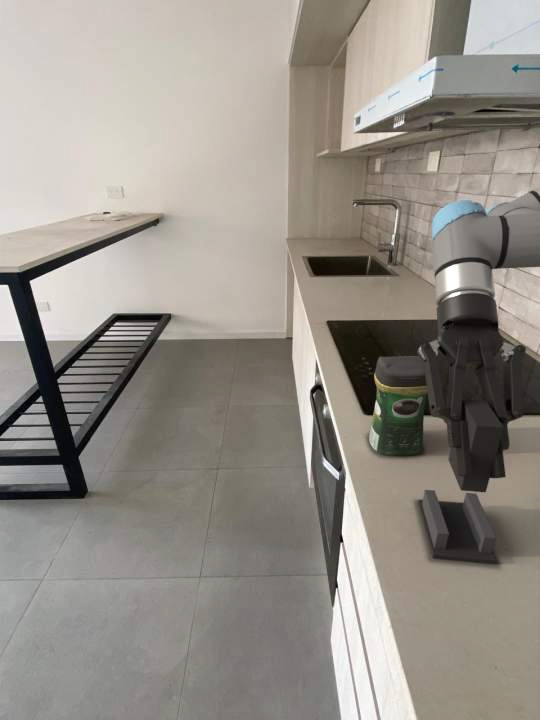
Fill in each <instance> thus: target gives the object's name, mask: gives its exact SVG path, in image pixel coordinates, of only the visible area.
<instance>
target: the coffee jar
mask: <svg viewBox="0 0 540 720" xmlns="http://www.w3.org/2000/svg"><path fill="white" fill-rule="evenodd" d="M373 374H374V376H373V378H374V383H375V386H376V397H375V403H374V410H373V414H372V418H371V423H370V426H369V427H370V428H369V435H368V440H369V444H370V446H371V447H372V449H373V450H374V451H375V453H377V454H379V455H381V456H386V457H408V456H415V455H418V454H419V453H421V451H422V450H423V446H424V422H425V421H424V419H425V418H424V417H425V404H426V399H427V396H428V392H427V385H426V378H425V371H424V365H423V363H422V361H421V359H420V357H419V355H407V356H406V355H404V356H378V358H377V361H376V366H375V371H374V373H373Z"/></svg>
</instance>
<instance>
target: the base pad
mask: <svg viewBox="0 0 540 720" xmlns="http://www.w3.org/2000/svg"><path fill="white" fill-rule="evenodd" d="M423 491H424V492H423V496H422V499H418V501H417V505H418V509H419V512H420V516H421V520H422V524H423V528H424V531H425V536H426V540H427V543H428V547H429V550H430V555H431V558H432V559H435V560H443V561H445V560H446V561H454V562H455V561H456V562H463V563H464V562H465V563H475V564H484V565H485V564H486V565H496V563H497V559H496V556H495V553H494V552H493V549H494V546H495V543H496V541H497V536H496V534H495V532H494V530H493V528H492V526H491V523H490V521H489V518H488V517H487V515H486V512H485V510H484V507H483V505H482V503H481V501H480V499H479V496H478V494H477V493H476V492H472V493H471V492H466V493H465V494H464V499H463V502H455V501H442V500H439V499H438V497H437V493H436V490H433V489H424V490H423Z"/></svg>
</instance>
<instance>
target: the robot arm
mask: <svg viewBox="0 0 540 720" xmlns="http://www.w3.org/2000/svg"><path fill="white" fill-rule="evenodd" d="M485 209H486V208H485V207H484V205H482V203H480V202H477V201H475V202H474V201H472V200H470V199H463V200H457V201H454V202H451V203H449V204H447V205H445V206H444V207H442V208H441V209H440V210H438V211H437V213H435V215H434V217H433V220H432V222H431V244H430V245H431V248H432V259H433V260H432V261H433V273H434V289H435V290H434V291H435V302H436V303H435V304H436V305H437V307H436V322H437V335H436V337H435V339H434V340H432V341H430V342H428V341H423V342H422V343H421V344H420V346H419V347H418V349H417V351H416V353H417V356H419V357H420V359H421V361H422V363H423V365H424V371H425V378H426V385H427V392H428V393H427V398H428V405H429V411H430V412H429V413H430V416H432V417H433V418H438V419H441V420H443V422H444V423H445V424H446V432H447V433H446V434H447V444H448V447H449V448H451V447H454V448H456V454H457V467H458V476H468V475H472V465H471V453H470V444H469V432H468V421H466V420H461V421H460V417H461V409H462V399H463V396H464V385H465V374H466V373H465V372H466V369H467V368H472V369H474V372H475V375H476V376H477V377H478V382H479V384H480V389H481V392H482V397H483V400H486V402H487V403H488V405H489V406H490V408H491V409H492V410H493V412H494V413H495V415H496V416H497V418H498V419H499V421H500V422H501V424H502V425H503V427H504V429H503V432H502V436H501V439H500V443H499V447H498V450H497V454H496V457H495V461H494V464H493V468H492V471H491V475H490V479H502V478H506V469H505V460H504V459H505V458H504V451H507V450H509V448H510V444H511V443H510V436H509V428H508V426H509V425H508V424H509V423H510V422H513V421H516V420H517V419H521V418H522V417H523V416H524V394H523V368H522V367H523V365H522V361H523V359H524V356H525V354H526V351H527V348H526V346H524V345H523V344H518V345H516V346H515V345H513V344H510V343H508V342H505V339H504V337H503V335H502V334H501V333H500V329H499V315H498V308H497V306H498V305H497V301H496V299H495V298H496V290H495V289H496V288H495V283H494V275H493V270H498V269H522V268H523V269H525V268H540V185H539V186H537V187H535V188H533V189H532V190H530V191H528V192H526V193H524V194H522V195H520V196H519V197H517V198H515V199H513V200H512V201H507V202H506V201H505V202H501V203H498V204H495V205H493V206H491V207H489V208H488V209H487V210H485ZM439 352H440V353H441V354H442V355H443V356H444V357H445V359H446V360H447V361H448V382H447V384H448V385H447V393H446V403H445V397H444V390H443V385H442V377H441V372H440V366H439V360H438V355H439ZM499 352H500V354H501V360H502V361H503V367H502V373H503V374H502V376H503V377H502V379H503V394H502V390H501V386H500V382H499V379H498V376H497V373H496V367H497V366H496V362H495V359H494V358H495V357H496V355H497V354H498V353H499Z"/></svg>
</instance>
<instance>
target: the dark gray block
mask: <svg viewBox="0 0 540 720" xmlns="http://www.w3.org/2000/svg"><path fill="white" fill-rule="evenodd" d="M461 420H466V421H468V432H469V444H470V453H471V465H472V475H468V476H458V467H457V454H456V448H454V447H450V451H449V456H448V459H447V461H448V463H449V465H450V468H451V470H452V472H453V474H454V478H455V479H456V482H457V484H458V487H459V489H460V491H462V492H463V491H464V492H473V493H487V489H488V486H489V483H490V479H491V478H490V475H491V471H492V468H493V464H494V461H495V457H496V454H497V450H498V447H499V443H500V439H501V436H502V432H503V429H504V427H503V425H502V424H501V422H500V421H499V419H498V418H497V416H496V415H495V413H494V412H493V410H492V409H491V408H490V406H489V405H488V403H487V402H486V400H484V399H463V398H462V409H461V417H460V421H461Z"/></svg>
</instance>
